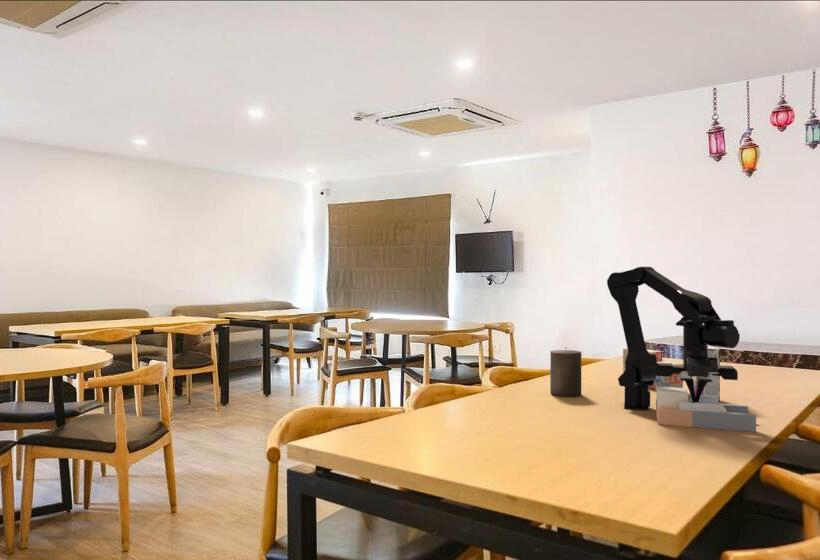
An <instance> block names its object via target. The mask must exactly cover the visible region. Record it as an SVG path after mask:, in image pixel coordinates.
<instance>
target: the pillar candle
mask: <svg viewBox="0 0 820 560" xmlns="http://www.w3.org/2000/svg"><path fill="white" fill-rule="evenodd" d="M549 352H550V369H549V370H550V373H549V375H550V376H549V377H550V378H549V379H550V382H549V383H550V390H549V391H550V395H552V396H558V397H565V398H566V397H568V398H571V397H581V396H582V351H580V350H575V349H574V350H573V349H572V350H571V349H567V347H565V349H558V350H557V349H556V350H555V349H554V350H550V351H549Z"/></svg>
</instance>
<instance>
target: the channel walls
mask: <svg viewBox="0 0 820 560" xmlns="http://www.w3.org/2000/svg"><path fill="white" fill-rule="evenodd" d="M723 404H724V403H720V404H718V396H707V395H701V396H700V399H699V401H698V402H693V401H692V398H691V395H690V393H688V402H687V401H679V410H689V411H703V412H717V413H724V405H723Z"/></svg>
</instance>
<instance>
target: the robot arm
mask: <svg viewBox="0 0 820 560" xmlns="http://www.w3.org/2000/svg"><path fill="white" fill-rule="evenodd" d="M644 284H645V285H646V286H647V287H650V288H651V289H652V290H653V291H655V292H656V293H658V294H659V295H661V296H663V298H665V299H667V300H668V301H670V302H671V303H672V305H673V307H674V309H675V311H677V313H679V314H680V315H681V316H682V317H681V318H680V319H679V320H678V321H677V322H676V323H675V325H676V326H677V327H678V326H679V327H683V328H682V331H683V334H682V337H683V338H682V339H683V340H682V341H683V344H682V345H683V347H682V349H683V352H682V353H683V354H682V355H683V359H682V360H683V361H682V364H683V367H673V365H672V363H658V364H657V358H656V355H655V354H650V353H649V352H648V351H647V350H648V349H647V347H646V341H645V337H644V333H643V328H642V323H641V320H640V314H639V310H638V305H637V302H636V301H637V298H638V294H639V291H640V289H639V287H640V286H642V285H644ZM606 286H607V289H608V291H609V293H610V296H611V297H612V298H613V300H614V301H615V302H616V303H617V305H618V310H619V314H620V319H621V320H620V321H621V324H622V327H623V328H622V329H623V334H624V337H625V342H626V346H627V347H626V349H628V354H627V358H626V361H625V368H626V370H625V371H624V373H621V374H620V376H619V377H618V378H617V380H618V384H619V386H620V387H624V402H623V408H624V409H628V410H629V409H631V410H632V409H633V410H644V411H645V410H649V408H650V407H651V391H650V390H649V388H648V386H653V384H654V381H655V378H656V376H665V377H670V376H671V375H673V374H679V378H680V380H682V381H683V382H685V385H686V387H687V388H688V391H689V394H690V395H691V398H692V401H693V402H698V401H699V399H700V396H701V393H702V391H703V389H704V387H705V385H706V384H707V383H708V382H712V379H711V377H712V376H720V377H721V378H722V379H723V380H726V381H730V380H731V381H738V379H739V378H738V377H739V375H738V374H739V372H738V370H737V369H736V368H734V366H732V365H720V366H718V359H717V358H714V357H709V358H708V345H709V346H713V347H715V348H718V347H719V348H726V349H734V348H736V347H737V346H738V344H739V342H740V336H741V335H740V333H739V330H738V328H737V326H735V321H734V320H731V319H729V320H728V319H726V320H722V318H721V317H720V315H719V314H718V313H717V311H716V309H715V308H714V307H713V305H712V300H711V298H709V297H708V296H706V295H704V294H701V293H698V292H695V291H692V290H688V289H685V288H683V287H682V286H680V285H679V284H677V283H675V282H674V281H673V280H670V279H669V278H667V277H666V276H665V275H663V274H662V273H660V272H659V271H656V269H654V268H653V267H651V266H638V267H635V268H633V269H629V270H625V271H622V272H621V271H620V272H618V271H617V272H612V273H611V274H609V276H608V278H607V280H606ZM695 376H697V383H696V393H695V390H694V377H695Z"/></svg>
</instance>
